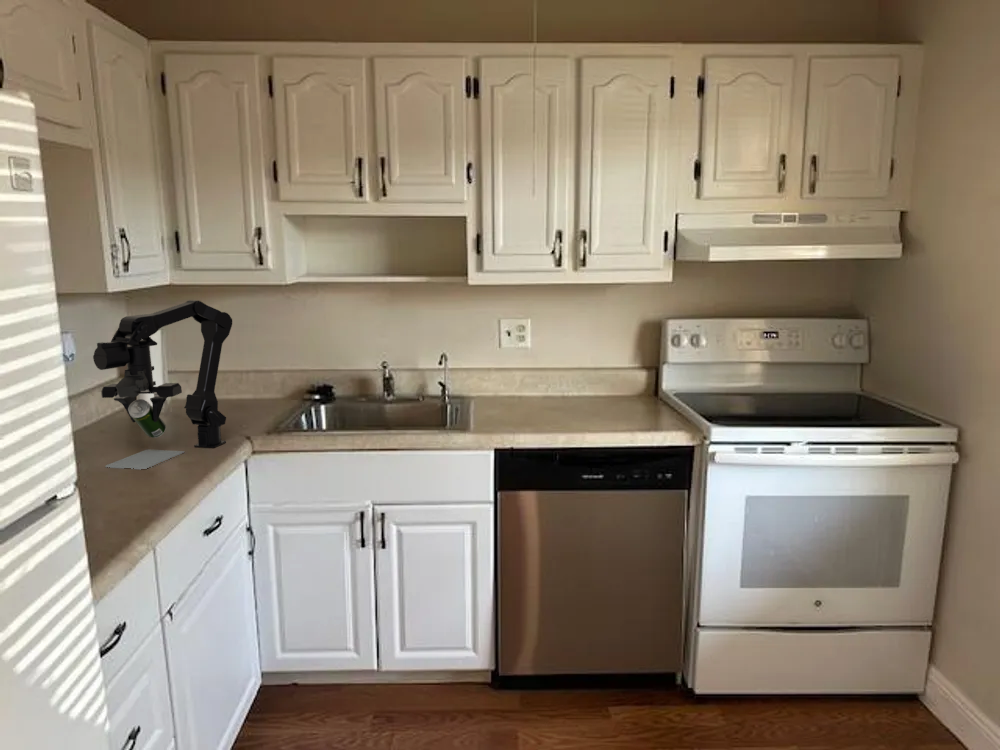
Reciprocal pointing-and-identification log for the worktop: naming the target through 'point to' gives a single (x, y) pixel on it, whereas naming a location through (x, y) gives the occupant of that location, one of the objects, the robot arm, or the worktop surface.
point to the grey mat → (144, 459)
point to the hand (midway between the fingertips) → (145, 421)
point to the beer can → (146, 418)
